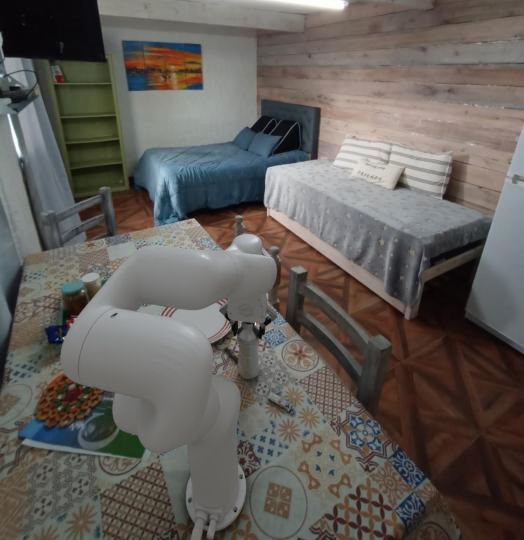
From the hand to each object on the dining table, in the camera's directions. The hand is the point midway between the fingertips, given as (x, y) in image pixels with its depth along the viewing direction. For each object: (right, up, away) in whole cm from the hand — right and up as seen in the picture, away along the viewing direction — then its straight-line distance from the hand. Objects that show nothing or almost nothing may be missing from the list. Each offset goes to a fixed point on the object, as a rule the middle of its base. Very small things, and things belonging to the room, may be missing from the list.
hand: (248, 333), depth 87 cm
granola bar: (+9, -17, -3) cm, 20 cm away
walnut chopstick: (-6, -12, +11) cm, 17 cm away
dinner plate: (-19, -7, +24) cm, 31 cm away
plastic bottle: (0, -14, +6) cm, 15 cm away
